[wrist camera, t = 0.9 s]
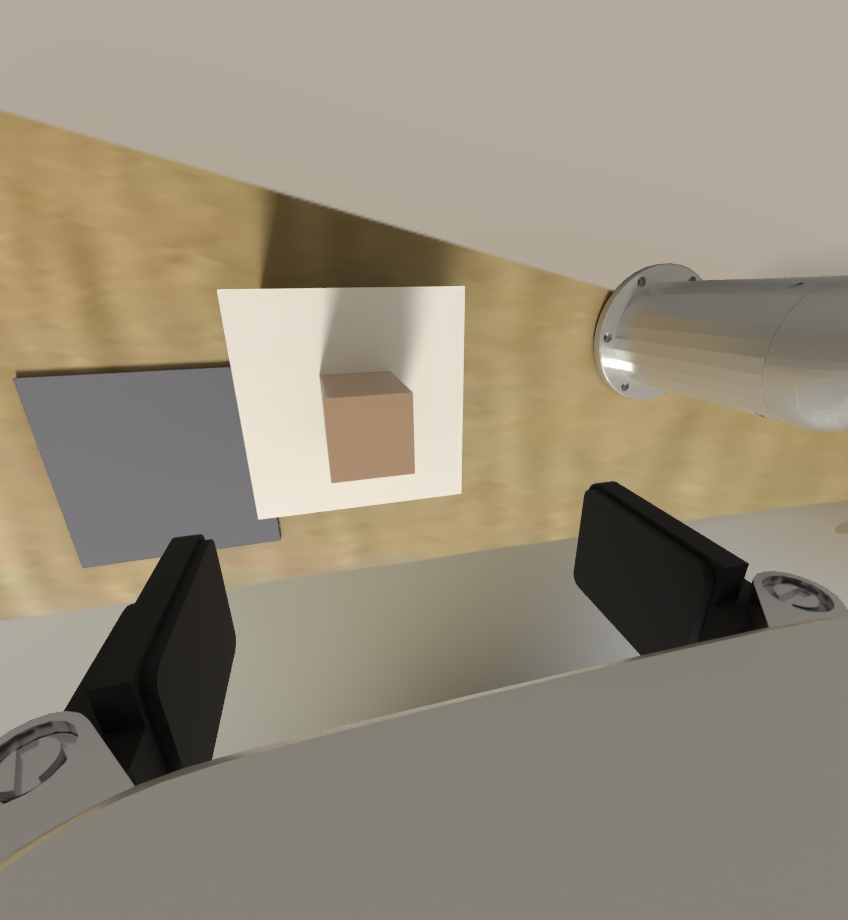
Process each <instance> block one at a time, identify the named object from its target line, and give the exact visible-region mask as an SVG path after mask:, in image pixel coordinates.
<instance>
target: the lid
mask: <svg viewBox="0 0 848 920" xmlns="http://www.w3.org/2000/svg"><path fill="white" fill-rule="evenodd" d="M217 294H218V299H219V305H220V310H221V316H222V322H223V327H224V333H225V338H226V344H227V349H228V355H229V360H230V366H231V371H232V377H233V383H234V388H235V394H236V399H237V405H238V410H239V416H240V421H241V427H242V432H243V438H244V444H245V449H246V455H247V460H248V466H249V471H250V477H251V482H252V488H253V494H254V499H255V505H256V510H257V516H258V520H260V519H268V518H276V517H284V516H291V515H299V514H307V513H315V512H322V511H330V510H338V509H346V508H354V507H361V506H369V505H377V504H385V503H392V502H400V501H408V500H416V499H423V498H431V497H439V496H447V495H455V494H461V479H462V423H463V366H464V310H465V286H431V287H359V288H287V289H217Z"/></svg>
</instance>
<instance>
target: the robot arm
mask: <svg viewBox="0 0 848 920" xmlns="http://www.w3.org/2000/svg"><path fill="white" fill-rule="evenodd" d="M594 356H595V362H596V366H597V369H598V372H599V374H600V376H601V378H602V379H603V381H604V382H605V384H606V385H607V386H608V387H609V388H610V389H612V390H613V391H614V392H616V393H618V394H620V395H622V396H625V397H628V398H631V399H638V400H645V399H652V398H656V397H659V396H662V395H664V394H666V393H668V392H671V393H674V394H678V395H682V396H686V397H689V398H693V399H697V400H700V401H704V402H708V403H712V404H715V405H719V406H723V407H726V408H730V409H734V410H737V411H741V412H745V413H749V414H752V415H756V416H760V417H763V418H767V419H771V420H775V421H778V422H782V423H786V424H790V425H794V426H797V427H801V428H805V429H810V430H816V431H828V432H831V431H848V276H821V277H794V278H765V279H737V280H736V279H735V280H707V281H702V279H701V278H700V277H699V276H698V275H697V274H696V273H695V272H694V271H692V270H691V269H689V268H687V267H685V266H682V265H677V264H670V263H669V264H657V265H653V266H649V267H645V268H643V269H641V270H639V271H637V272H635V273H634V274H632V275H631V276H630V277H628V278H627V279H626V280H624V281H623V282H622V283H621V284H620V285H619V286H618V287H617V289H616V290H615V291H614V292H613V294H612V295H611V296H610V298H609V299H608V301H607V302H606V304H605V306H604V308H603V310H602V312H601V314H600V317H599V320H598V323H597V326H596V332H595V338H594ZM748 565H749V564H748V563H746V562H745V561H744V560H742V559H740V558H738V557H737V556H735V555H734V554H732V553H731V552H729V551H727V550H726V549H724V548H722V547H721V546H719V545H717V544H716V543H714V542H713V541H711V540H709V539H708V538H706V537H705V536H703V535H701V534H700V533H698V532H696V531H695V530H693V529H692V528H690V527H688V526H686V525H685V524H683V523H682V522H680V521H679V520H677V519H675V518H674V517H672V516H670V515H669V514H667V513H666V512H664V511H662V510H661V509H659V508H657V507H656V506H654V505H653V504H651V503H649V502H648V501H646V500H644V499H643V498H641V497H640V496H638V495H636V494H635V493H633V492H631V491H630V490H628V489H627V488H625V487H623V486H622V485H620V484H618V483H617V482H614V481H612V482H604V483H596V484H593V485H591V486H590V488H589V490H587V491H586V492H585V495H584V501H583V508H582V515H581V523H580V530H579V537H578V545H577V552H576V559H575V566H574V579H575V582H576V584H577V586H578V587H579V588H580V589H581V590H582V591H583V593H584V594H585V595H586V596H587V597H588V598H589V599H590V600H591V601H592V602H593V603H594V605H595V606H596V607H597V608H598V609H599V610H600V611H601V612H602V613H603V614H604V616H605V617H606V618H607V619H608V620H609V621H610V622H611V623H612V624H613V625H614V626H615V627H616V629H617V630H618V631H619V632H620V633H621V634H622V635H623V636H624V637H625V639H627V641H628V642H629V643H630V644H631V645H632V646H633V647H634V648H635V649H636V651H637V652H638V653H639V654H640V655H641V656H637V657H633V658H628V659H624V660H619V661H615V662H611V663H606V664H602V665H598V666H593V667H589V668H585V669H580V670H576V671H572V672H568V673H563V674H559V675H555V676H551V677H546V678H542V679H538V680H533V681H529V682H525V683H520V684H517V685H512V686H508V687H503V688H499V689H495V690H491V691H486V692H482V693H478V694H474V695H469V696H465V697H461V698H457V699H453V700H449V701H444V702H440V703H436V704H432V705H428V706H424V707H420V708H415V709H412V710H407V711H403V712H399V713H394V714H391V715H386V716H382V717H378V718H374V719H370V720H365V721H361V722H357V723H353V724H349V725H345V726H341V727H336V728H333V729H328V730H324V731H320V732H316V733H312V734H308V735H304V736H300V737H296V738H292V739H288V740H284V741H280V742H276V743H272V744H268V745H264V746H261V747H257V748H254V749H250V750H246V751H242V752H239V753H235V754H232V755H228V756H225V757H221V758H217V759H214V760H212V757H213V752H214V747H215V742H216V738H217V733H218V729H219V724H220V719H221V715H222V710H223V704H224V700H225V695H226V691H227V686H228V682H229V677H230V672H231V668H232V663H233V658H234V654H235V647H236V636H235V630H234V626H233V622H232V617H231V612H230V608H229V604H228V599H227V595H226V590H225V586H224V581H223V577H222V573H221V568H220V564H219V559H218V555H217V551H216V546H215V543H214V541H213V539H208V540H205V538H204V536H203V535H202V534H197V535H189V536H181V537H174V538H172V540H171V541H170V543H169V545H168V546H167V548H166V550H165V552H164V553H163V555H162V557H161V559H160V560H159V562H158V564H157V566H156V567H155V569H154V571H153V573H152V574H151V576H150V578H149V580H148V581H147V583H146V585H145V587H144V588H143V590H142V592H141V594H140V595H139V597H138V599H137V601H136V602H135V604H131V605H129V606H127V607H126V608H125V610H124V611H123V612H122V614H121V616H120V617H119V619H118V621H117V622H116V624H115V626H114V627H113V629H112V631H111V632H110V634H109V636H108V638H107V639H106V641H105V643H104V644H103V646H102V648H101V649H100V651H99V653H98V654H97V656H96V658H95V660H94V661H93V663H92V665H91V666H90V668H89V670H88V671H87V673H86V675H85V676H84V678H83V680H82V681H81V683H80V685H79V686H78V688H77V690H76V692H75V693H74V695H73V697H72V698H71V700H70V702H69V703H68V705H67V707H66V708H65V710H64V712H57V713H50V714H47V715H44V716H41V717H38V718H36V719H32V720H30V721H28V722H26V723H24V724H22V725H20V726H18V727H16V728H14V729H12V730H10V731H9V732H8V733H6V734H5V735H3V736H2V737H0V920H848V610H847V608H846V607H845V605H844V603H843V602H842V601H841V600H840V599H839V598H838V596H836V595H835V594H834V593H832V592H831V591H829V590H828V589H827V588H825V587H823V586H821V585H819V584H817V583H815V582H813V581H811V580H808V579H805V578H803V577H800V576H796V575H793V574H789V573H783V572H776V571H769V572H762V573H758V574H757V575H756V576H755V577H754V578H753V581H752V583H750V582H748V581H747V580H746V579H744V577H745V574H746V571H747V568H748Z"/></svg>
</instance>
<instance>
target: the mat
mask: <svg viewBox="0 0 848 920" xmlns="http://www.w3.org/2000/svg"><path fill="white" fill-rule="evenodd" d="M13 381H14V384H15V386H16V389H17V392H18V394H19V397H20V400H21V402H22V405H23V408H24V411H25V413H26V416H27V419H28V421H29V424H30V427H31V430H32V432H33V435H34V438H35V440H36V443H37V446H38V449H39V451H40V454H41V457H42V459H43V462H44V465H45V467H46V470H47V473H48V476H49V478H50V481H51V484H52V486H53V489H54V492H55V495H56V497H57V500H58V503H59V505H60V508H61V511H62V513H63V516H64V519H65V522H66V524H67V527H68V530H69V532H70V535H71V538H72V541H73V543H74V546H75V549H76V551H77V554H78V557H79V560H80V562H81V565H82V568H86V567H94V566H101V565H108V564H115V563H122V562H129V561H136V560H143V559H151V558H158V557H162V555H163V553H164V552H165V550H166V548H167V546H168V545H169V543H170V541H171V540H172V538H174V537H181V536H189V535H197V534H202V535H203V536H204V538H205V540H208V539H213V541H214V543H215V546H216V549H222V548H229V547H236V546H243V545H250V544H257V543H264V542H272V541H279V540H281V537H280V531H279V524H278V518H277V517H276V518H268V519H260V520H258V516H257V510H256V505H255V499H254V494H253V488H252V482H251V477H250V471H249V466H248V460H247V455H246V449H245V444H244V438H243V432H242V427H241V421H240V416H239V410H238V405H237V399H236V394H235V388H234V383H233V377H232V371H231V366H230V367H210V368H191V369H172V370H153V371H133V372H114V373H95V374H75V375H56V376H37V377H17V378H13Z"/></svg>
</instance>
